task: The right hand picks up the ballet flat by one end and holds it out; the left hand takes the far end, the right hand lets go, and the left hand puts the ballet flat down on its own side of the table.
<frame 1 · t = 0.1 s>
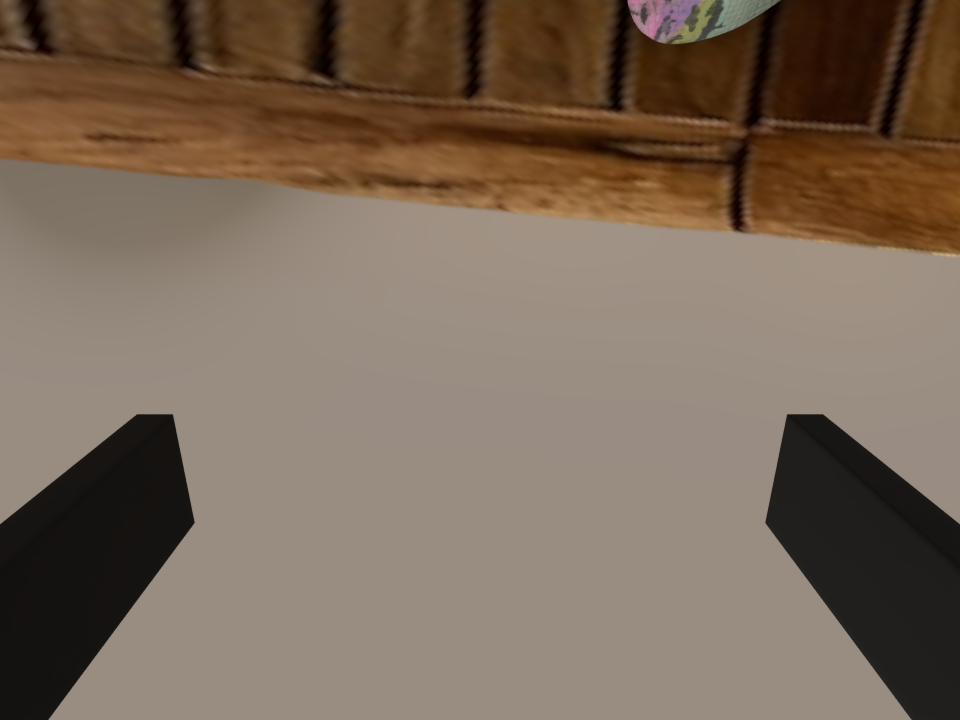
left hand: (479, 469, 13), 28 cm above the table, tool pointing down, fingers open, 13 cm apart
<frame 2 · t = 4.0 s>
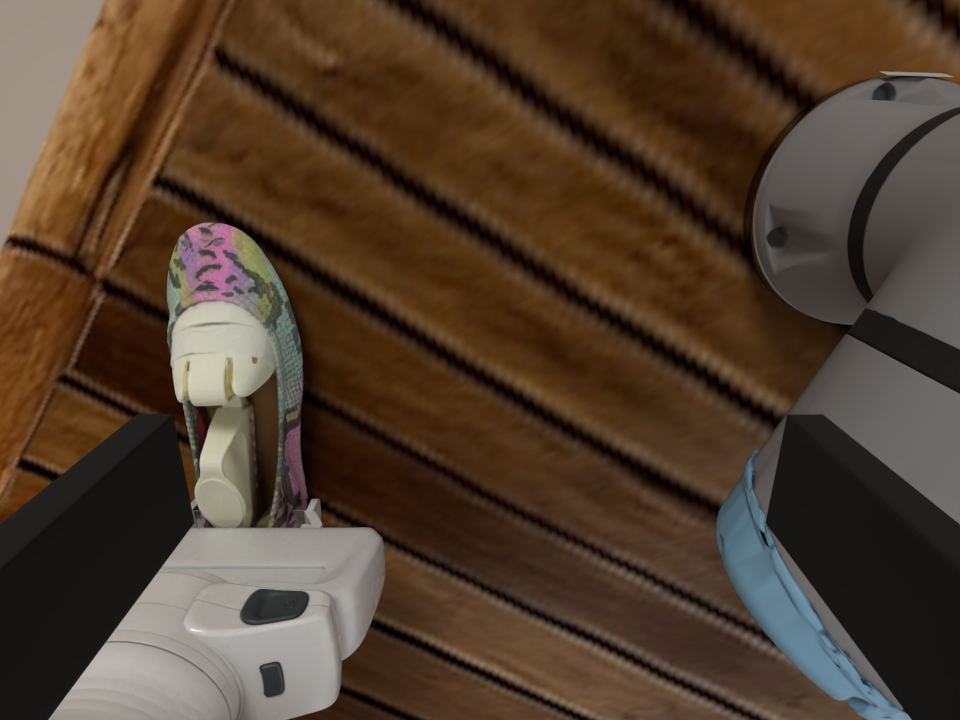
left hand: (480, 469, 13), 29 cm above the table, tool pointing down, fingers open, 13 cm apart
ballet flat: (257, 387, 43), on the table, touching right hand
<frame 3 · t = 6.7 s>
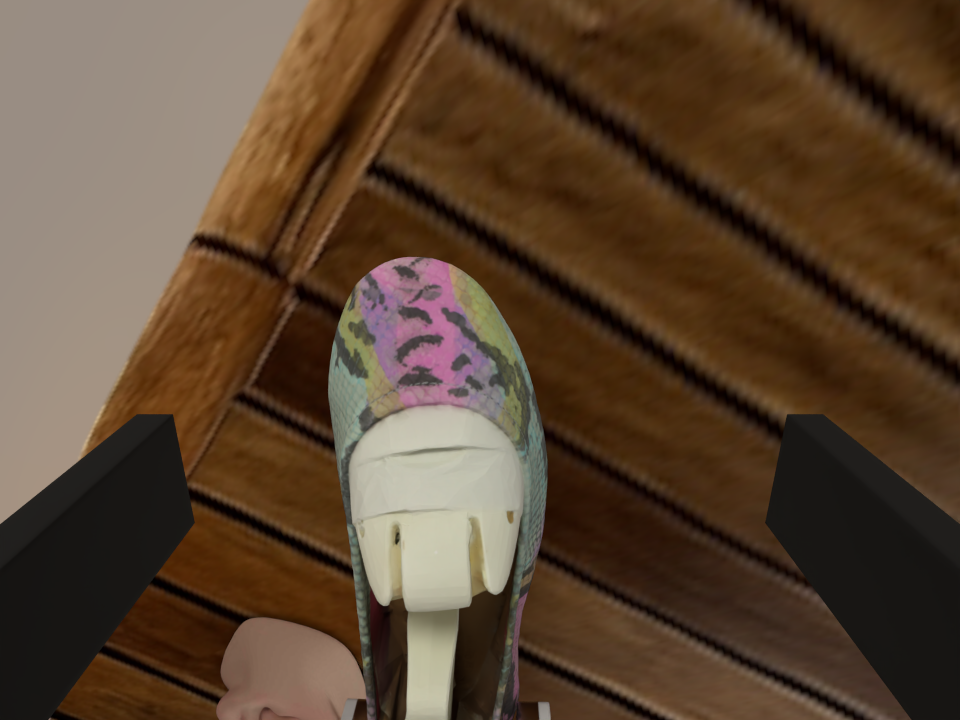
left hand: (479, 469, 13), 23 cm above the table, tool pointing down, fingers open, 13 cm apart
anatomical model: (297, 682, 46), on the table
ballet flat: (448, 518, 27), point 12 cm above the table, touching right hand
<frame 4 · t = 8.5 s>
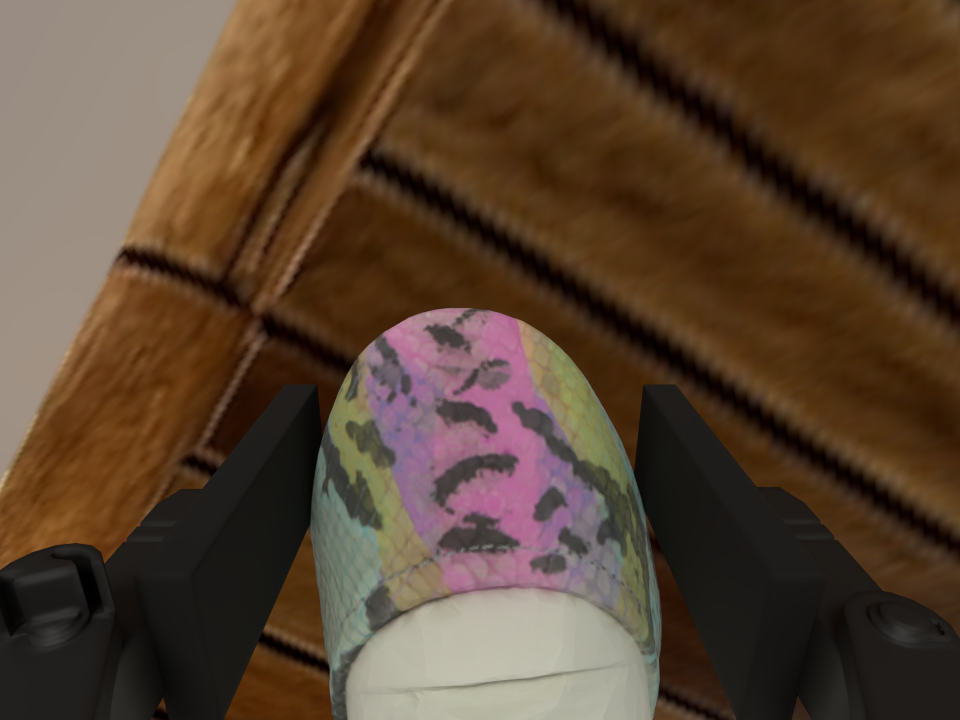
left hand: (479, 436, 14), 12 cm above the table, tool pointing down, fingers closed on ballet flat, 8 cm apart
ballet flat: (488, 680, 18), point 12 cm above the table, touching left hand, right hand
when the right hand's fingers open (14 cm above the table, at t = 9.6 s): ballet flat moves 2 cm, held by the left hand.
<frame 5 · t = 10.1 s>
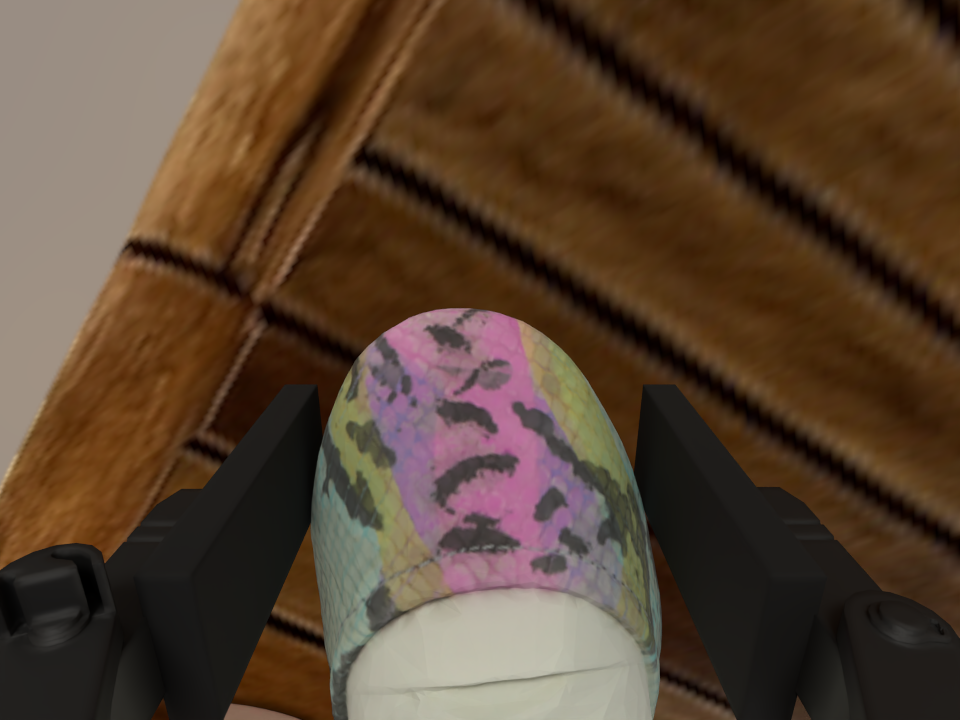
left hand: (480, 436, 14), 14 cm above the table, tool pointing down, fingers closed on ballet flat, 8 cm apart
ballet flat: (488, 680, 18), point 13 cm above the table, touching left hand
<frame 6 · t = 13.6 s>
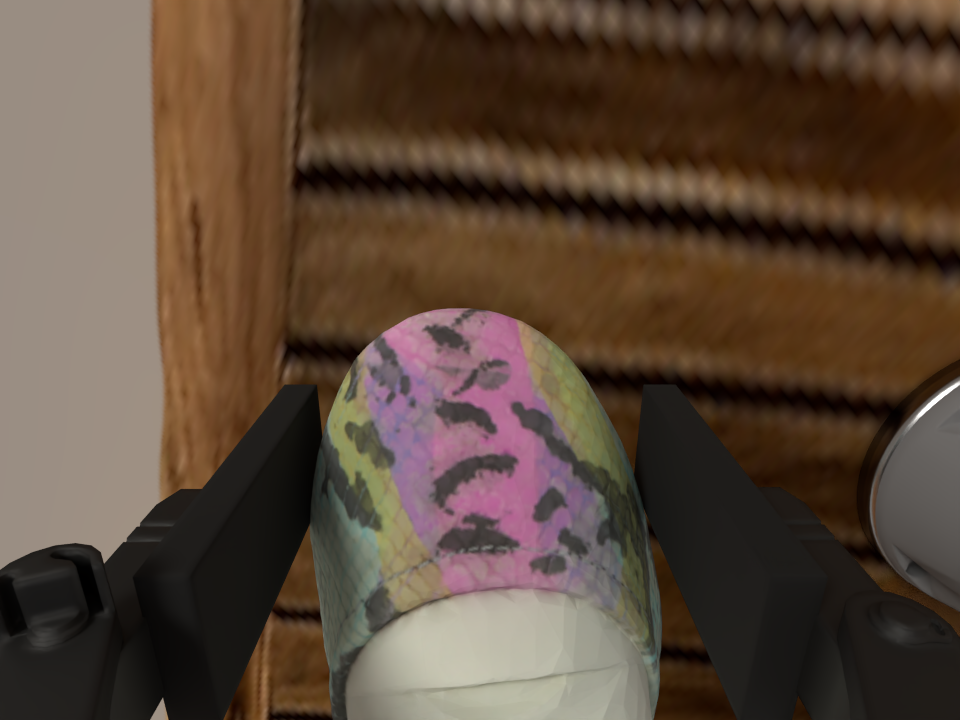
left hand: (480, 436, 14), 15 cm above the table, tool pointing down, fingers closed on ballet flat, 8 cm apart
ballet flat: (488, 681, 18), point 15 cm above the table, touching left hand
when the left hand's fingers open (2 cm above the table, at t = 19.1 s): ballet flat stays where it is, on the table.
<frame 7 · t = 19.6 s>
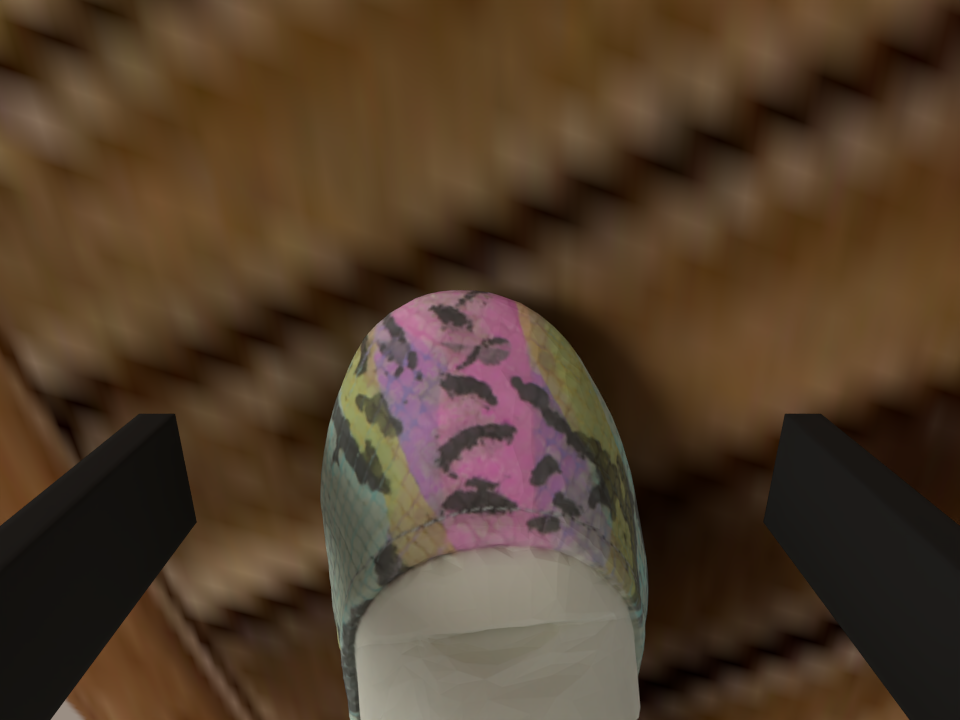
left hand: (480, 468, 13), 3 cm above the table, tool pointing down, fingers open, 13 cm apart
ballet flat: (485, 647, 19), on the table
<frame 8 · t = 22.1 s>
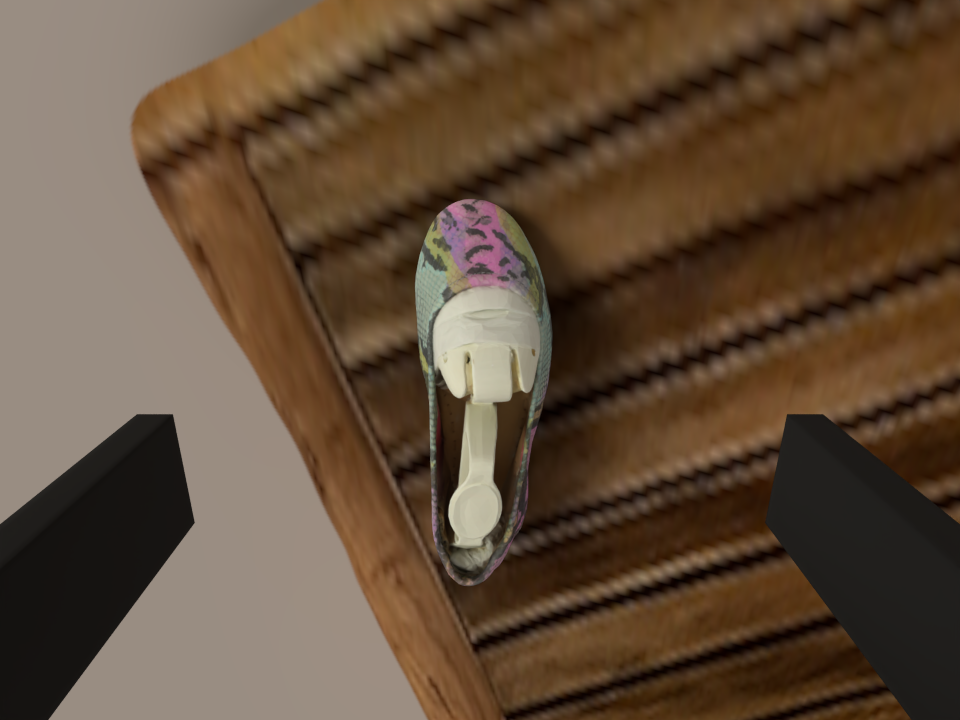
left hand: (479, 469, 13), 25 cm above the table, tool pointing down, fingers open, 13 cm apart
ballet flat: (482, 383, 40), on the table
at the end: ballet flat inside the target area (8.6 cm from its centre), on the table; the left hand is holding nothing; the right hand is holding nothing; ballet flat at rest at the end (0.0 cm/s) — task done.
